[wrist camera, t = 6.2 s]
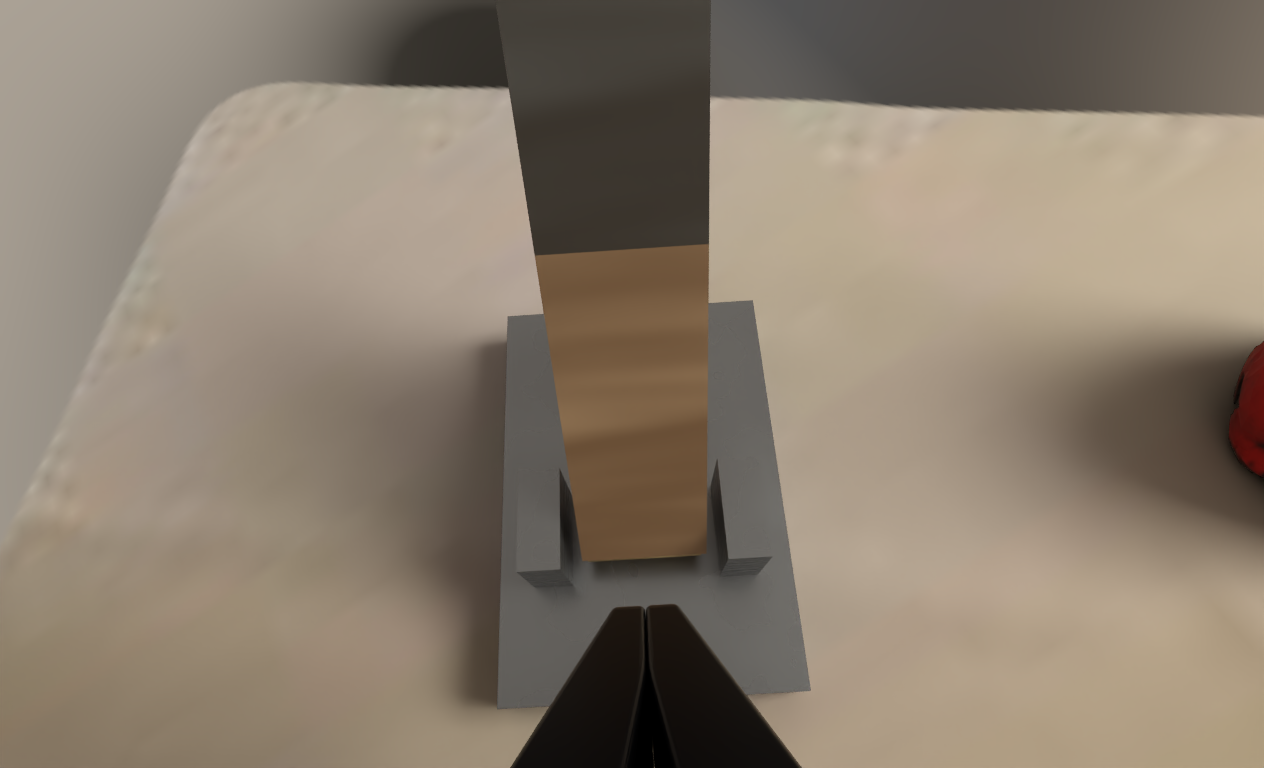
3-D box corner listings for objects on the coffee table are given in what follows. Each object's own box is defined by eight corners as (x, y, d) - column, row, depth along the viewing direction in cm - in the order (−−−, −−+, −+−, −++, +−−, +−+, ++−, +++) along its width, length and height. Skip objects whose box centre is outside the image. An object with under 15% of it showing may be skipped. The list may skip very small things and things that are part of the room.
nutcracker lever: (706, 574, 17) (711, -118, 9) (585, 582, 17) (479, -101, 9) (697, 515, 18) (694, -116, 10) (587, 522, 18) (500, -101, 10)
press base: (799, 691, 18) (852, 690, 13) (509, 707, 18) (452, 713, 13) (747, 324, 22) (771, 220, 17) (517, 339, 22) (476, 239, 17)
